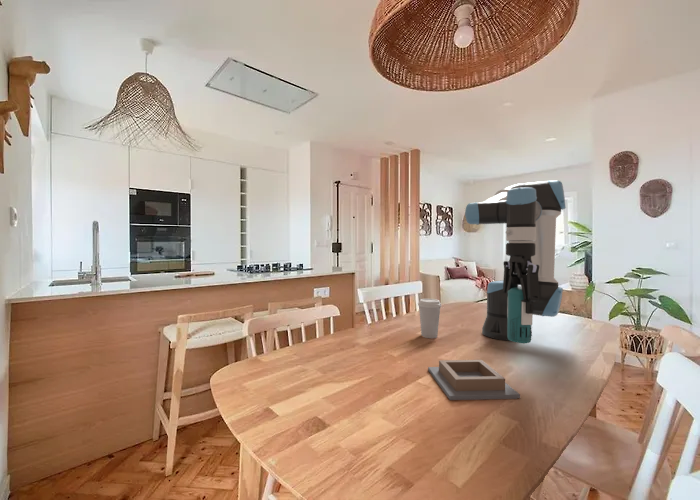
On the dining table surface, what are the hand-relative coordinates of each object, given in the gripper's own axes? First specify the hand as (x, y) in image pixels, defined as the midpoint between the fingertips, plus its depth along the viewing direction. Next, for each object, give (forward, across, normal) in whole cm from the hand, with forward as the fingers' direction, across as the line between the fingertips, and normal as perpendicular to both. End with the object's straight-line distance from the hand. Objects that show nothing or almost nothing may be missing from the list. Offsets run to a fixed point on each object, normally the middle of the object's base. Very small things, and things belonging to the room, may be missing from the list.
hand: (519, 320), depth 91 cm
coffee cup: (+17, -40, -14) cm, 45 cm away
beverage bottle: (+7, 0, 0) cm, 7 cm away
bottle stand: (+16, +4, -16) cm, 23 cm away
